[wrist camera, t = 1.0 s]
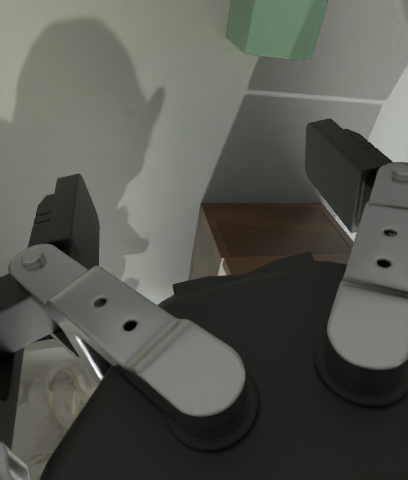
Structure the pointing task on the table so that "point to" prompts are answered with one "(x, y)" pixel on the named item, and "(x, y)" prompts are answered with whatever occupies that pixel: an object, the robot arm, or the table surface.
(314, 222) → the case
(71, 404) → the sculpture
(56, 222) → the robot arm
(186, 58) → the table surface
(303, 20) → the block
